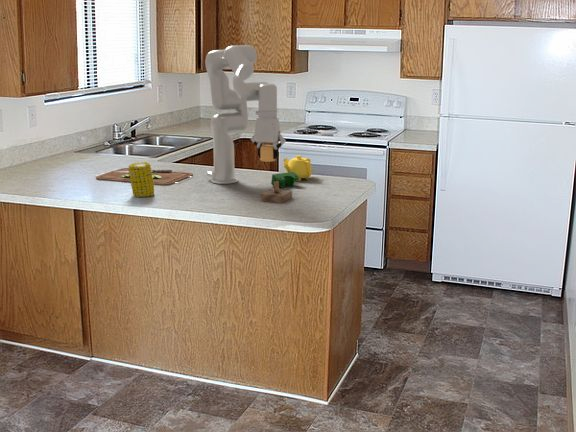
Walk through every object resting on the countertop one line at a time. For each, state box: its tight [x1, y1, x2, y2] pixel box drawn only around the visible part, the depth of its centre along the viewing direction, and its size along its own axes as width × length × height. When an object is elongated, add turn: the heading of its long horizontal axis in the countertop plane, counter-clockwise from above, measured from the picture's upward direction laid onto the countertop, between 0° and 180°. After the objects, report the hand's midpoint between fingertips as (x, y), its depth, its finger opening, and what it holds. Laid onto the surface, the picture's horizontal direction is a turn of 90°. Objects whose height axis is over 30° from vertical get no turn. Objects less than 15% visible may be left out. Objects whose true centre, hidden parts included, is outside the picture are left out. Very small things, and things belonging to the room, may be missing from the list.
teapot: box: [282, 155, 313, 182], centre depth 357 cm, size 14×14×11 cm
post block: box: [260, 181, 293, 204], centre depth 317 cm, size 10×10×8 cm
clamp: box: [270, 172, 299, 189], centre depth 341 cm, size 12×6×9 cm, turn 116°
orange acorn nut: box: [259, 144, 277, 163], centre depth 313 cm, size 6×6×6 cm
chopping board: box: [94, 167, 195, 187], centre depth 361 cm, size 45×27×3 cm, turn 69°
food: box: [128, 161, 155, 198], centre depth 323 cm, size 15×12×10 cm
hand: (268, 157), depth 313 cm, fingers closed on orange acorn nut, 6 cm apart
